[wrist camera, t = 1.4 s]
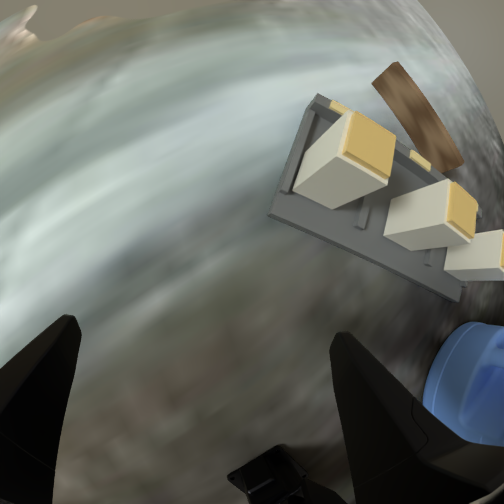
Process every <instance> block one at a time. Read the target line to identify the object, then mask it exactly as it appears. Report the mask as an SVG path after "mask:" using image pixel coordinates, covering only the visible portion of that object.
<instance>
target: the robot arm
mask: <svg viewBox="0 0 504 504" xmlns="http://www.w3.org/2000/svg"><path fill="white" fill-rule="evenodd" d="M81 336H82V334H81V330H80V327H79V325H78V322H77V320H76V318H75V316H73V315H68V314H64V315H62V316H61V317H60V318H58V319H57V320H56V321H55V322H54V323H52V324H51V325H50V326H49V327H48V328H46V329H45V330H44V331H43V332H42V333H40V334H39V335H38V336H37V337H36V338H34V339H33V340H32V341H31V342H30V343H29V344H27V345H26V346H25V347H24V348H23V349H22V350H21V351H19V352H18V353H17V354H16V355H15V356H14V357H13V358H12V359H10V360H9V361H8V362H7V363H6V364H5V365H4V366H3V367H2V368H1V369H0V504H52V499H53V487H54V477H55V468H56V460H57V454H58V447H59V441H60V436H61V431H62V425H63V421H64V416H65V411H66V407H67V402H68V398H69V394H70V390H71V386H72V382H73V379H74V374H75V369H76V364H77V358H78V352H79V347H80V342H81ZM329 353H330V361H331V370H332V379H333V387H334V393H335V398H336V402H337V407H338V411H339V416H340V421H341V425H342V430H343V435H344V440H345V445H346V450H347V455H348V460H349V465H350V470H351V476H352V481H353V487H354V493H355V499H356V504H504V447H503V446H494V445H486V444H479V443H473V442H469V441H467V440H464V439H463V438H461V437H460V436H458V435H457V434H456V433H455V432H453V431H452V430H451V429H450V428H449V427H447V426H446V425H445V424H444V423H442V422H441V421H440V420H439V419H438V418H436V417H435V416H434V415H433V414H432V413H431V412H430V411H428V410H427V409H426V408H425V407H424V406H423V405H422V404H421V403H420V402H419V401H418V400H417V399H416V398H415V397H413V395H412V394H411V393H410V392H409V391H408V390H407V389H406V388H405V387H404V386H403V385H402V384H401V383H400V382H399V381H398V380H397V379H396V378H395V377H394V376H393V375H392V374H391V373H390V372H389V371H388V370H387V369H386V368H385V367H384V366H383V365H382V364H381V363H380V362H379V361H378V360H377V359H376V358H375V357H374V356H373V355H372V354H371V353H370V352H369V351H368V350H367V349H366V348H365V347H364V346H363V345H362V344H361V343H360V342H359V341H358V340H357V339H356V338H355V337H354V336H353V335H352V334H351V333H350V332H348V331H343V332H337V333H336V335H335V337H334V339H333V341H332V344H331V346H330V350H329ZM276 450H279V451H276ZM303 475H304V476H303ZM231 477H234V478H231ZM307 477H308V473H307V472H306V471H305V470H304V469H303V468H302V467H301V466H300V465H299V464H298V463H297V462H296V461H295V460H294V459H293V458H292V457H291V456H290V455H289V454H288V453H287V452H286V451H285V450H284V449H283V448H282V447H280V446H275V447H273V448H272V449H270V450H269V451H267V452H265V453H264V454H262V455H261V456H259V457H257V458H256V459H254V460H252V461H251V462H249V463H247V464H246V465H244V466H242V467H241V468H239V469H237V470H235V471H233V472H232V473H230V474H228V475H227V479H228V481H229V482H231V483H232V484H233V485H235V486H236V487H237V488H238V489H240V490H241V491H242V492H244V493H245V494H246V496H247V499H248V502H249V504H347V503H346V502H345V501H344V500H343V499H342V498H341V497H340V496H339V495H338V494H337V493H336V492H335V491H333V490H330V489H328V488H326V487H324V486H321V485H319V484H317V483H315V482H313V481H311V480H309V479H307Z"/></svg>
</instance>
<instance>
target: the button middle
mask: <svg viewBox="0 0 504 504" xmlns="http://www.w3.org/2000/svg"><path fill="white" fill-rule="evenodd" d="M476 210H477V201H476V200H475V199H474V198H473V197H472V196H471V195H469V194H468V193H467V192H466V191H465V190H464V189H463V188H462V187H461V186H460V185H458V184H457V183H456V182H452V181H450V180H449V179H445V180H443V181H440V182H437V183H434V184H432V185H429V186H426V187H423V188H421V189H418V190H415V191H412V192H410V193H407V194H404V195H401V196H399V197H396V198H393V199H391V202H390V207H389V212H388V217H387V221H386V226H385V230H384V235H383V236H385V237H386V238H388V239H390V240H392V241H394V242H396V243H397V244H399V245H401V246H403V247H405V248H406V249H408V250H410V251H415V250H423V249H432V248H440V247H448V246H457V245H465V244H470V241H471V239H473V238H474V235H475V224H476Z"/></svg>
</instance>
